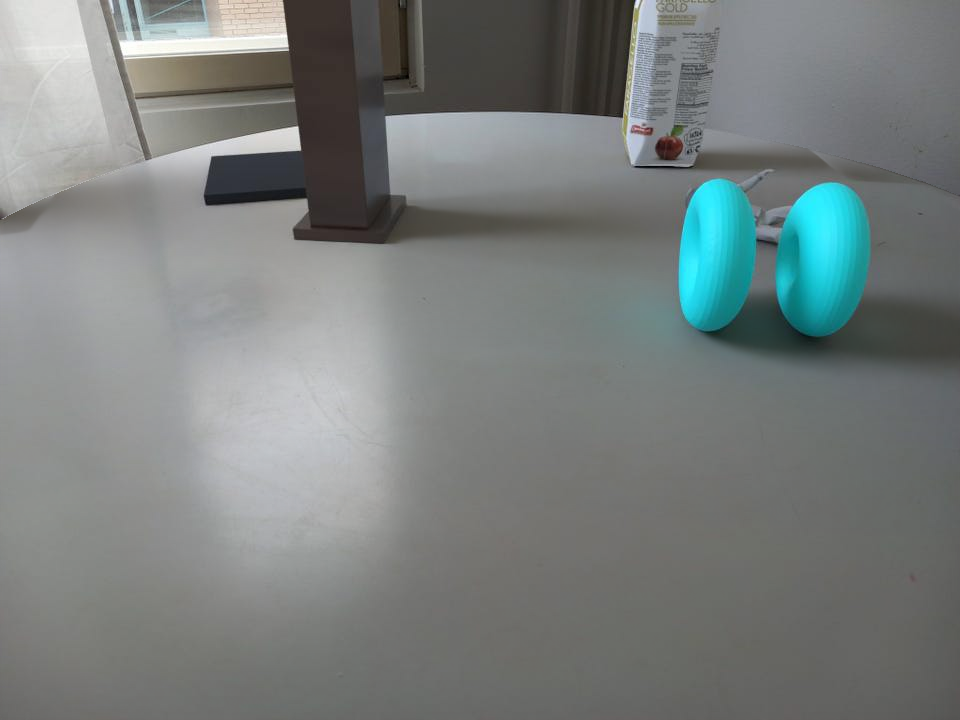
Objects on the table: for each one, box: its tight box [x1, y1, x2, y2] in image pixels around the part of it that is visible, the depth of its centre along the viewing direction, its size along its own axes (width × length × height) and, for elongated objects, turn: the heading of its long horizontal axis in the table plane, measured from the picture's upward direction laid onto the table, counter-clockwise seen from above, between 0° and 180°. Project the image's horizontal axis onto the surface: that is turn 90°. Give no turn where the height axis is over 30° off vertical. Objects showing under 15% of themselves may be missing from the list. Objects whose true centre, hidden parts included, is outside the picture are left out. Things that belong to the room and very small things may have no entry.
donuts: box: [678, 178, 871, 338], centre depth 49 cm, size 10×10×10 cm
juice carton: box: [621, 0, 724, 165], centre depth 81 cm, size 8×9×19 cm
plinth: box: [282, 0, 407, 244], centre depth 61 cm, size 10×8×31 cm
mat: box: [203, 150, 307, 206], centre depth 79 cm, size 14×10×1 cm
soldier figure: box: [684, 168, 793, 244], centre depth 64 cm, size 8×5×12 cm
